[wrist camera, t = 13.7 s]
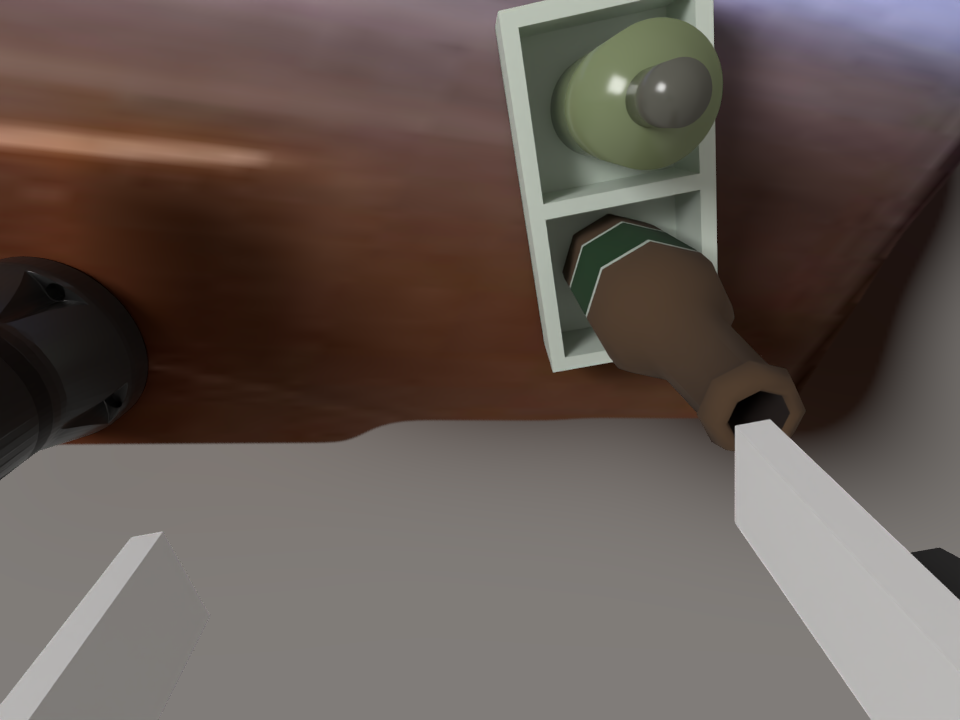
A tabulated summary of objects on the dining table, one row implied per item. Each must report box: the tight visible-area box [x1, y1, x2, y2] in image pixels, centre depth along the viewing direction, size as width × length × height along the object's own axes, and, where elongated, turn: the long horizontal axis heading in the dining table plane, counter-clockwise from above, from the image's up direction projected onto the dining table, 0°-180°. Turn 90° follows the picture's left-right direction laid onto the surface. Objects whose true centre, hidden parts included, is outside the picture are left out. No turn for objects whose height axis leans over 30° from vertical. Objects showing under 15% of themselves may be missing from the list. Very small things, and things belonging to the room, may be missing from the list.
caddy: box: [495, 0, 717, 372], centre depth 37 cm, size 12×23×6 cm, turn 11°
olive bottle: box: [550, 17, 723, 170], centre depth 29 cm, size 6×6×17 cm
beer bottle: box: [562, 214, 806, 451], centre depth 30 cm, size 8×8×24 cm
